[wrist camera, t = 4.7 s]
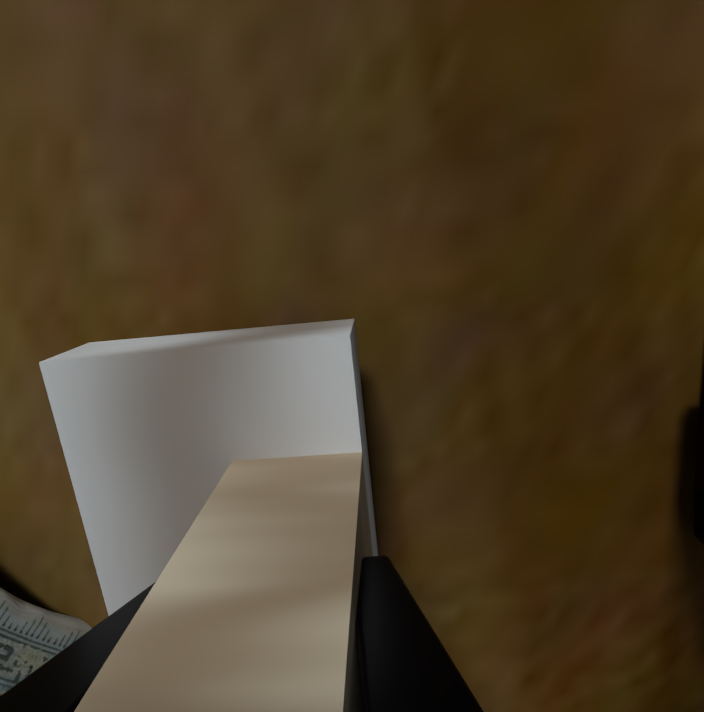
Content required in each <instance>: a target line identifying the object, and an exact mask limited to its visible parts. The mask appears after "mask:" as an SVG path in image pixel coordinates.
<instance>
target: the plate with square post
mask: <svg viewBox="0 0 704 712" xmlns="http://www.w3.org/2000/svg"><path fill="white" fill-rule="evenodd" d="M39 365H40V368H41V372H42V375H43V379H44V383H45V386H46V390H47V394H48V397H49V401H50V405H51V408H52V412H53V415H54V419H55V423H56V426H57V430H58V434H59V437H60V441H61V444H62V448H63V452H64V455H65V459H66V463H67V466H68V470H69V473H70V477H71V481H72V484H73V488H74V492H75V495H76V499H77V503H78V506H79V510H80V513H81V517H82V521H83V524H84V528H85V532H86V535H87V539H88V542H89V546H90V550H91V553H92V557H93V561H94V564H95V568H96V572H97V575H98V579H99V582H100V586H101V590H102V593H103V597H104V601H105V604H106V608H107V611H108V615H109V616H110V615H111V614H112V613H114V612H115V611H117V610H118V609H119V608H121V607H122V606H123V605H125V604H126V603H127V602H129V601H130V600H131V599H133V598H134V597H136V596H137V595H138V594H140V593H141V592H142V591H144V590H145V589H146V588H148V587H149V586H150V585H152V584H153V583H155V582H156V583H155V584H154V586H153V587H152V589H151V590H150V592H149V594H148V595H147V597H146V598H145V600H144V602H143V603H142V605H141V606H140V608H139V609H138V611H137V613H136V614H135V616H134V617H133V619H132V621H131V622H130V624H129V625H128V627H127V629H126V630H125V632H124V633H123V635H122V636H121V638H120V640H119V641H118V643H117V644H116V646H115V648H114V649H113V651H112V652H111V654H110V655H109V657H108V659H107V660H106V662H105V663H104V665H103V667H102V668H101V670H100V671H99V673H98V674H97V676H96V678H95V679H94V681H93V682H92V684H91V686H90V687H89V689H88V690H87V692H86V693H85V695H84V697H83V698H82V700H81V701H80V703H79V705H78V706H77V708H76V709H75V711H74V712H365V703H364V694H363V685H362V676H361V667H360V658H359V649H358V640H357V632H356V612H357V601H358V591H359V581H360V571H361V561H362V558H363V557H367V556H378V548H377V538H376V528H375V518H374V508H373V498H372V488H371V478H370V468H369V458H368V448H367V438H366V429H365V419H364V409H363V399H362V389H361V379H360V369H359V359H358V349H357V339H356V329H355V319H346V320H335V321H324V322H313V323H302V324H291V325H279V326H268V327H257V328H246V329H235V330H224V331H213V332H202V333H190V334H179V335H168V336H157V337H146V338H135V339H124V340H113V341H102V342H90V343H87V344H85V345H82V346H79V347H77V348H74V349H72V350H69V351H67V352H64V353H62V354H59V355H57V356H54V357H51V358H49V359H46V360H44V361H41V362H39Z"/></svg>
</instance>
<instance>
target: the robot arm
mask: <svg viewBox="0 0 704 712" xmlns="http://www.w3.org/2000/svg"><path fill="white" fill-rule="evenodd" d="M695 486H696V488H697V497H696V508H695V519H694V534H695V536H696V537H697V539H698V540H699V541H700V542H701V543H702V544H703V545H704V390H703V394H702V405H701V417H700V428H699V439H698V450H697V461H696V473H695ZM155 583H156V582H155ZM155 583H153V584H152V585H150V586H149V587H148V588H146V589H145V590H144V591H142V592H141V593H140V594H138V595H137V596H136V597H134V598H133V599H131V600H130V601H129V602H127V603H126V604H125V605H123V606H122V607H121V608H119V609H118V610H117V611H115V612H114V613H112V614H111V615H110V616H108V617H107V618H106V619H104V620H103V621H102V622H100V623H99V624H98V625H96V626H95V627H93V628H92V629H91V630H89V631H88V632H87V633H85V634H84V635H83V636H81V637H80V638H79V639H77V640H76V641H74V642H73V643H72V644H70V645H69V646H68V647H66V648H65V649H64V650H62V651H61V652H60V653H58V654H57V655H55V656H54V657H53V658H51V659H50V660H49V661H47V662H46V663H45V664H43V665H42V666H41V667H39V668H38V669H36V670H35V671H34V672H32V673H31V674H30V675H28V676H27V677H26V678H24V679H23V680H22V681H20V682H19V683H17V684H16V685H15V686H13V687H12V688H11V689H9V690H8V691H7V692H5V693H4V694H3V695H1V696H0V712H74V711H75V709H76V708H77V706H78V705H79V703H80V701H81V700H82V698H83V697H84V695H85V693H86V692H87V690H88V689H89V687H90V686H91V684H92V682H93V681H94V679H95V678H96V676H97V674H98V673H99V671H100V670H101V668H102V667H103V665H104V663H105V662H106V660H107V659H108V657H109V655H110V654H111V652H112V651H113V649H114V648H115V646H116V644H117V643H118V641H119V640H120V638H121V636H122V635H123V633H124V632H125V630H126V629H127V627H128V625H129V624H130V622H131V621H132V619H133V617H134V616H135V614H136V613H137V611H138V609H139V608H140V606H141V605H142V603H143V602H144V600H145V598H146V597H147V595H148V594H149V592H150V590H151V589H152V587H153V586H154V584H155ZM356 632H357V640H358V649H359V658H360V667H361V676H362V685H363V694H364V703H365V712H483V710H482V708H481V707H480V705H479V704H478V702H477V700H476V699H475V697H474V695H473V694H472V692H471V691H470V689H469V687H468V686H467V684H466V682H465V681H464V679H463V678H462V676H461V674H460V673H459V671H458V669H457V668H456V666H455V665H454V663H453V661H452V660H451V658H450V656H449V655H448V653H447V652H446V650H445V648H444V647H443V645H442V643H441V642H440V640H439V639H438V637H437V635H436V634H435V632H434V631H433V629H432V627H431V626H430V624H429V622H428V621H427V619H426V618H425V616H424V614H423V613H422V611H421V609H420V608H419V606H418V605H417V603H416V601H415V600H414V598H413V596H412V595H411V593H410V592H409V590H408V588H407V587H406V585H405V583H404V582H403V580H402V579H401V577H400V575H399V574H398V572H397V570H396V569H395V567H394V566H393V564H392V562H391V561H390V559H389V558H388V557H387V556H367V557H363V558H362V561H361V571H360V581H359V591H358V601H357V612H356Z"/></svg>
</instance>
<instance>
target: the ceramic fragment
mask: <svg viewBox="0 0 704 712" xmlns="http://www.w3.org/2000/svg"><path fill="white" fill-rule="evenodd" d="M91 629H92V627H91V626H89V625H88V624H87V623H85V622H84V621H82V620H80V619H79V618H76V617H73V616H69V615H64V614H60V613H56V612H53V611H49V610H46V609H44V608H41V607H38V606H35V605H33V604H31V603H28V602H26V601H23V600H21V599H19V598H17V597H15V596H13V595H12V594H10V593H9V592H7V591H5V590H4V589H2V588H1V587H0V694H4V693H5V692H7V691H8V690H9V689H11V688H12V687H13V686H15V685H16V684H17V683H19V682H20V681H22V680H23V679H24V678H26V677H27V676H28V675H30V674H31V673H32V672H34V671H35V670H36V669H38V668H39V667H41V666H42V665H43V664H45V663H46V662H47V661H49V660H50V659H51V658H53V657H54V656H55V655H57V654H58V653H60V652H61V651H62V650H64V649H65V648H66V647H68V646H69V645H70V644H72V643H73V642H74V641H76V640H77V639H79V638H80V637H81V636H83V635H84V634H85V633H87V632H88V631H89V630H91Z"/></svg>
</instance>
